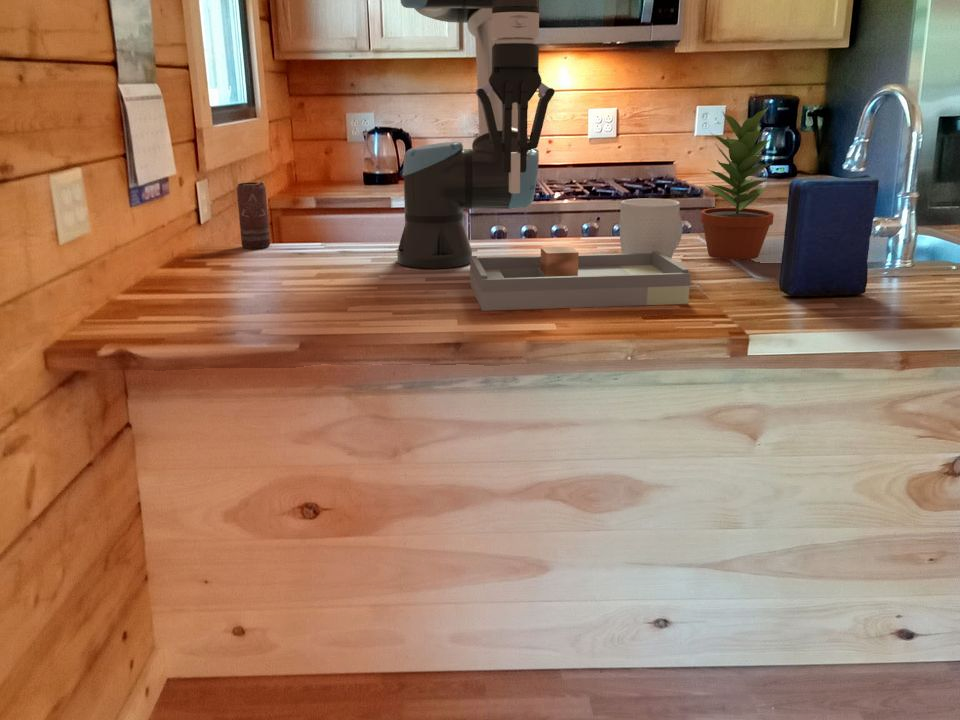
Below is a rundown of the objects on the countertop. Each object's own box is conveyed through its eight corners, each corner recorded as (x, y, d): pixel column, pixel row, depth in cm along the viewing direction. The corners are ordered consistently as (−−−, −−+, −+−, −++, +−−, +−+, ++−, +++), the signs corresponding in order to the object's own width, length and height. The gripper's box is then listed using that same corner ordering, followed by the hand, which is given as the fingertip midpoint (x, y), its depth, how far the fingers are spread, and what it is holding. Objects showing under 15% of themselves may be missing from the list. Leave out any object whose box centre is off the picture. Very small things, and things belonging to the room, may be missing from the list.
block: (546, 276, 145) (546, 253, 144) (540, 269, 150) (540, 247, 149) (577, 275, 146) (578, 252, 145) (570, 268, 151) (571, 246, 150)
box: (482, 310, 135) (481, 276, 134) (470, 285, 152) (470, 255, 151) (688, 303, 139) (690, 270, 137) (654, 279, 156) (656, 250, 154)
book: (854, 290, 147) (869, 173, 141) (870, 298, 142) (888, 176, 136) (774, 293, 145) (787, 174, 139) (788, 301, 140) (802, 178, 134)
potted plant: (681, 251, 182) (691, 105, 172) (740, 246, 187) (753, 104, 177) (723, 264, 168) (736, 107, 159) (785, 259, 173) (802, 105, 164)
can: (277, 246, 190) (271, 182, 186) (255, 250, 185) (250, 185, 181) (257, 243, 193) (252, 181, 189) (236, 247, 188) (230, 183, 184)
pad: (646, 305, 138) (647, 287, 137) (617, 280, 155) (617, 264, 154) (688, 303, 139) (689, 285, 138) (654, 279, 156) (655, 263, 155)
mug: (655, 259, 174) (659, 194, 170) (700, 267, 166) (705, 200, 162) (605, 269, 165) (608, 201, 161) (650, 278, 157) (654, 207, 153)
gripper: (477, 41, 131) (478, 195, 138) (560, 41, 133) (556, 194, 140) (472, 44, 138) (473, 190, 146) (550, 44, 140) (548, 189, 147)
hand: (514, 192), depth 143 cm, fingers closed
